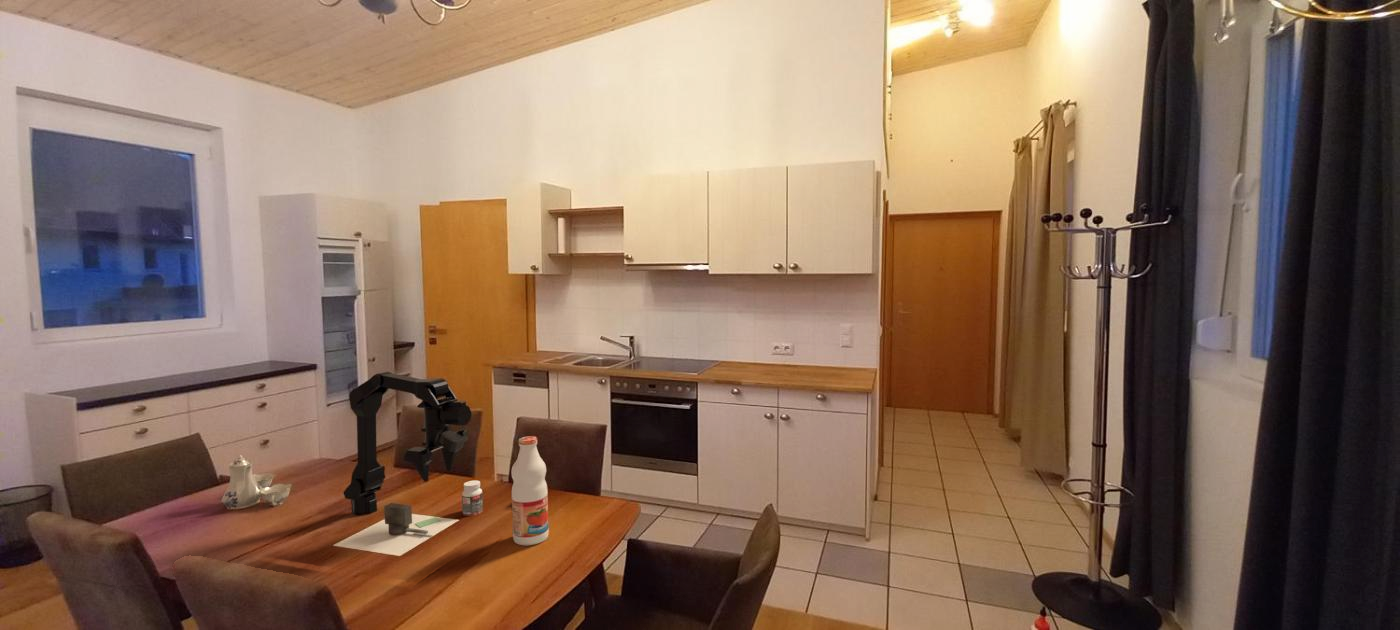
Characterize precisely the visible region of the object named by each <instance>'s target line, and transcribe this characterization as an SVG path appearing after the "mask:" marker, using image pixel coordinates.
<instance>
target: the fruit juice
mask: <svg viewBox="0 0 1400 630" xmlns="http://www.w3.org/2000/svg"><path fill="white" fill-rule="evenodd" d="M537 445H538V437H536V436H534V435H532V436H531V435H530V436H529V435H528V436H523V437H520V438H519V439H518V446H519V450H518V451H519V452H518V456H517V458H516V461H515V462H514V463H513V465H512V467H511V478H512V480H513V484H512V487H511V514H512V515H511V518H512V519H511V520H512V539H513V541H514V543H515V544H517V545H519V546H534V545H538V544H541V543H543V542H544V541H546V540H547V539H548V537H549V531H550V529H549V500H548V494H549V493H548V491H549V490H548V484H547V481H546V475H547V466H546V463H545V461H544V460H543V458H542V457H541V455H540V453H539V451H538V447H537Z"/></svg>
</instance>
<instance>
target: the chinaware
mask: <svg viewBox="0 0 1400 630" xmlns="http://www.w3.org/2000/svg"><path fill="white" fill-rule="evenodd" d="M253 463H254V460H251V459H249V460H248V459H247V458H245V457H244V456H243V455H242V454H239V455H238V456H237V459H234V461H233V462H231V463H230V464H228V465H227V467H228V469H229V475H230V480H229V484H228V487H227V489H226V490H225V492H224V493H223V496H222V498H221V501H220V502H221V504H222V505H223V506H225V507H227V508H226V509H227V510H232V509H233V510H241V509H246V508H249V507H252V506H255V505H257V504H259V503H260V502H261V500H260V499H263V501H264V502H266V503H268V504H269V505H270V506H271V505H273V506H272V507H275V506H276V505H277V506H280V505H282V504H284V502H283V501H285V500H286V499H287V497H289V495H290V491H291V488H292V487H293V484H292V483H287V484H284V483H276V484H274V485H272V486H271V484H272V482H273V479H274V477H276V474H275V473H272V472H264V473H262V474H258V473H257V474H253ZM270 486H271V487H270ZM279 504H280V505H279ZM277 506H276V507H277Z"/></svg>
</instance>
